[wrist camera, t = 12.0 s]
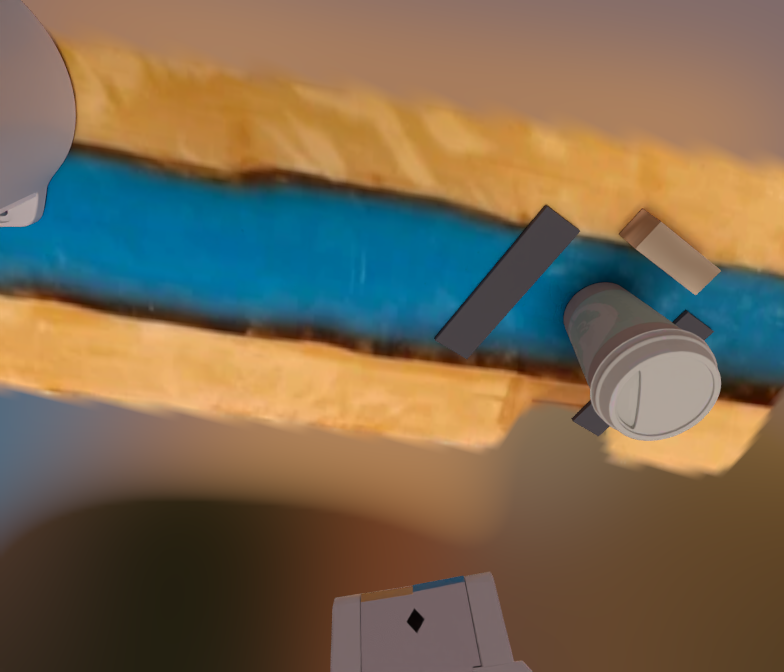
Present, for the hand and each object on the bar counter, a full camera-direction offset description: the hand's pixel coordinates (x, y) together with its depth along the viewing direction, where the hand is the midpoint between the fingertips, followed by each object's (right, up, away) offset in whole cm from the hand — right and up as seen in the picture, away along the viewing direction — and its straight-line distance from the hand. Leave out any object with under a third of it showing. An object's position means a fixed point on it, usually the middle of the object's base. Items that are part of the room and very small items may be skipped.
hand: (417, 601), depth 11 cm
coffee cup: (+17, +7, +37) cm, 41 cm away
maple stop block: (+21, +12, +34) cm, 42 cm away
